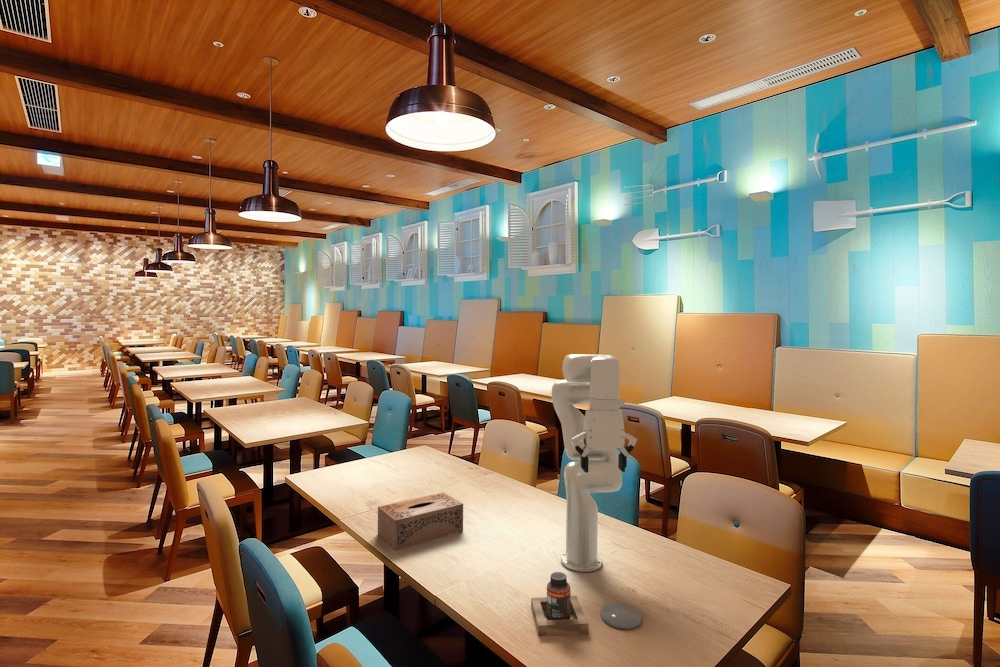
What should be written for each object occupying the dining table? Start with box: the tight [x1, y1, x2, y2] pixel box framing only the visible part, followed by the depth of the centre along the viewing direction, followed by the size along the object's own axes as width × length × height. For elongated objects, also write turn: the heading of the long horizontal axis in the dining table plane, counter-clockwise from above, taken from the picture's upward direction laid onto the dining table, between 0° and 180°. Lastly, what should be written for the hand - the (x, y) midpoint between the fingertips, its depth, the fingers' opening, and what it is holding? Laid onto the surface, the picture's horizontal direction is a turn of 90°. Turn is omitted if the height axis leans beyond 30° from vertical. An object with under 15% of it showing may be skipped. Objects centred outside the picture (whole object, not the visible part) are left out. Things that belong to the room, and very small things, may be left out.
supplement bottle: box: [546, 571, 572, 620], centre depth 126 cm, size 6×6×11 cm
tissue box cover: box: [377, 491, 464, 551], centre depth 177 cm, size 26×14×10 cm, turn 126°
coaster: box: [600, 602, 642, 630], centre depth 128 cm, size 10×10×1 cm
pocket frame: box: [530, 595, 589, 637], centre depth 127 cm, size 12×12×2 cm
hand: (603, 470), depth 131 cm, fingers open, 9 cm apart
